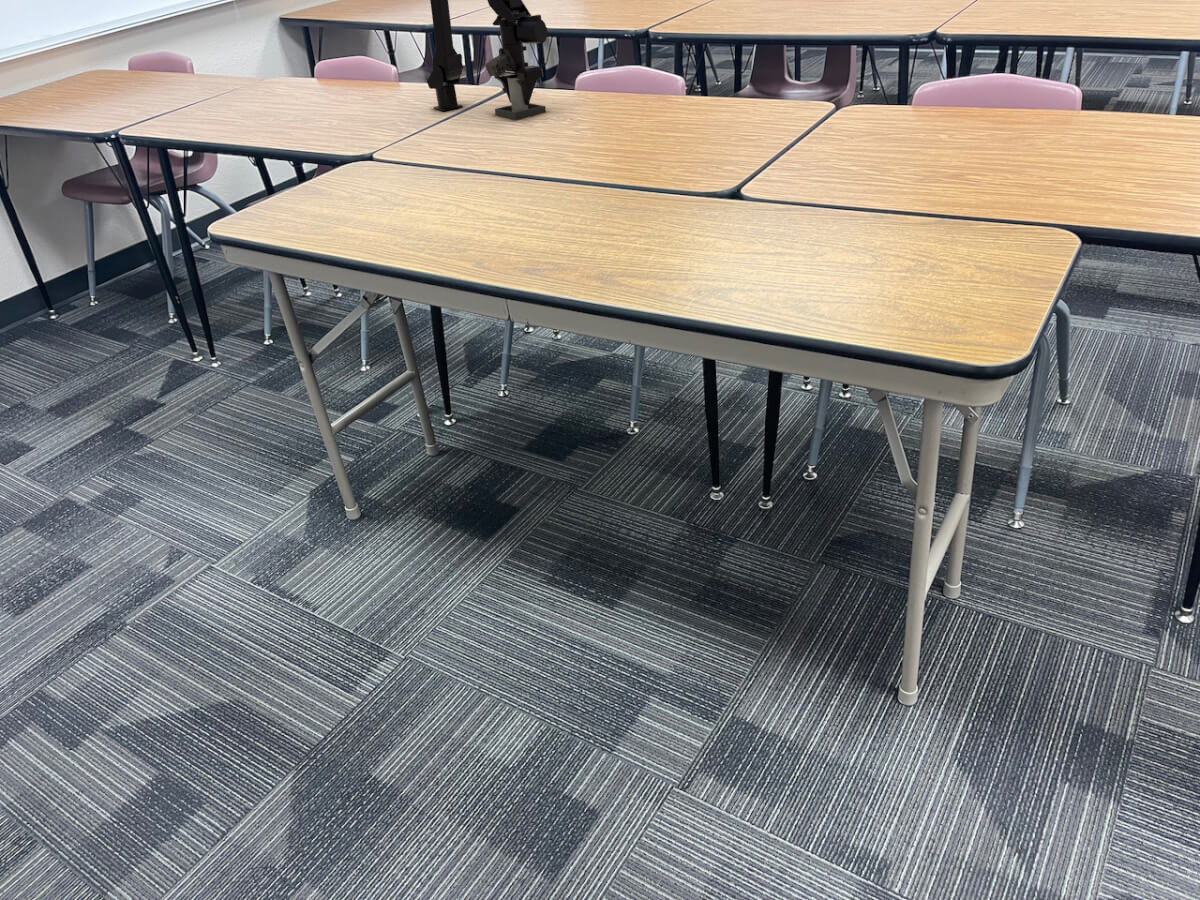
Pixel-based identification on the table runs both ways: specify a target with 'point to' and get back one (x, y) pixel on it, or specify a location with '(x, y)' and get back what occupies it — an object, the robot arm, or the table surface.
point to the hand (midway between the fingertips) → (519, 103)
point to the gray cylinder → (516, 94)
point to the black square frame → (508, 113)
